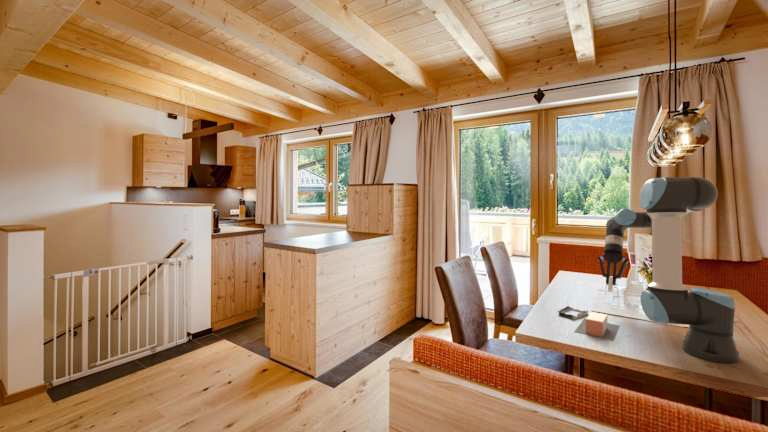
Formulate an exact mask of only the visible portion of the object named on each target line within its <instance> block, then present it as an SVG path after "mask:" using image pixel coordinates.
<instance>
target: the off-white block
mask: <svg viewBox="0 0 768 432" xmlns="http://www.w3.org/2000/svg"><path fill="white" fill-rule="evenodd" d="M585 319H586V333H587V334H591V335H596V336H600V337H602V336H603V335H604V333H605V331H606V329H607V323H608V314H605V313H600V312H595V311H590V313H588V315H587V317H586V318H585Z"/></svg>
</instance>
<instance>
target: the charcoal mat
mask: <svg viewBox="0 0 768 432" xmlns="http://www.w3.org/2000/svg"><path fill="white" fill-rule="evenodd" d="M620 327H621V325H619V324H614V323H608V322H607V329H606V331H605V333H604V335H603V336H602V337H600V336H596V335H591V334H587V333H586V318H583V320H582V321H581V323H580V324H579V325H578V326H577V327H576V329H575V330H574V331H573V332H574V333H576V334H581V335H586V336H589V337H594V338H599V339H604V340H606V341H607V340H608V341H612V342H613V341H615V338H616V335H617V334H618V331H619V329H620Z"/></svg>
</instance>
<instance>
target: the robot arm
mask: <svg viewBox="0 0 768 432" xmlns="http://www.w3.org/2000/svg"><path fill="white" fill-rule="evenodd" d="M718 196H719V191H718V188H717V187H716V185H715V184H714V183H713V182H712V181H710V180H709V179H706V178H704V177H703V178H702V177H698V176H690V177H689V176H688V177H686V176H684V177H683V176H682V177H681V176H680V177H679V176H678V177H672V176H671V177H670V176H669V177H668V176H667V177H665V176H663V177H655V178H654V177H653V178H650V179H648V180H646V181H645V183H644V184H643V185H642V187H641V188H640V192H639V197H638V198H639V199H638V200H639V204H640V208H642V209H644V210H646V211H639V212H636V211H634V210H633V209H630V208H622V209H620V210H618V212H616V214H615V215H613V216H610V217H608V218H607V219H606V224H605V227H606V228H605V229H606V230H605V238H604V241H605V242H604V249H603V250H604V251H603V253H602V256H597V261H598V263H599V266H600V270H601V275H602V277H603V278H605V284H606V285H608V287H607V291H608V293H613V289H614V287H613V286H616V285H617V279H621V278H622V276H623V274H624V271H625V269H626V266H627V265H628V264H629V259H628V258H626V257H624V255H623V253H624V251H623V250H624V238H625V237H624V235H625V231H626V230H627V229H639V228H640V229H651V257H652V258H651V261H652V262H651V264H652V265H651V266H652V267H651V269H652V271H651V272H652V273H651V274H652V277H651V278H652V281H651V282H649V283H648V284H647V289H645V290H642V291H641V294H640V297H639V298H640V305H641V309H642V310H643V312H644V314H645V317H647V318H648V320H650V321H652V322H654V323H658V324H665V325H667V324H669V325H670V324H671V325H673V324H674V325H688V327H689V328H688V329H687V332H686V334H685V336H684V339H683V340H682V343H681V344H682V345H681V348H682V350H683V351H685V352H686V353H687V354H690V355H691V356H694V357H697V358H700V359H702V360H707V361H711V362H714V363H721V364H722V363H723V364H736V363H739V361H740V351H739V350H738V348H737V346H736V343H735V339H734V325H735V322H734V321H735V311H736V307H735V305H736V304H735V298H733V296H731V295H730V294H727V293H724V292H721V291H717V290H714V289H713V290H712V289H708V288H703V287H702V288H701V287H692V288H690V290H689V289H688V287H687V286H685V285H684V284H683V258H682V257H683V256H682V255H683V254H682V253H683V250H682V247H683V245H682V242H683V240H682V218H683V217H684V216H686V215H687V214H690V213H692V212H700V211H701V212H702V211H704V210H706V209H707V208H710V207H711V206H713V205H714V204H715V203H716V202H717V199H718ZM604 260H605V262H606V263H607V264H606V271H605V266H604V263H603V261H604ZM621 262H622V263H621ZM619 263H621V265H620V268H619V270H618V264H619ZM612 265H613V270H612V276H611V268H612ZM689 291H690V292H689Z"/></svg>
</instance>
